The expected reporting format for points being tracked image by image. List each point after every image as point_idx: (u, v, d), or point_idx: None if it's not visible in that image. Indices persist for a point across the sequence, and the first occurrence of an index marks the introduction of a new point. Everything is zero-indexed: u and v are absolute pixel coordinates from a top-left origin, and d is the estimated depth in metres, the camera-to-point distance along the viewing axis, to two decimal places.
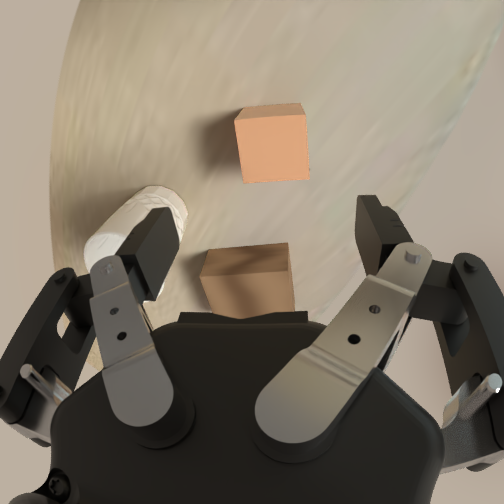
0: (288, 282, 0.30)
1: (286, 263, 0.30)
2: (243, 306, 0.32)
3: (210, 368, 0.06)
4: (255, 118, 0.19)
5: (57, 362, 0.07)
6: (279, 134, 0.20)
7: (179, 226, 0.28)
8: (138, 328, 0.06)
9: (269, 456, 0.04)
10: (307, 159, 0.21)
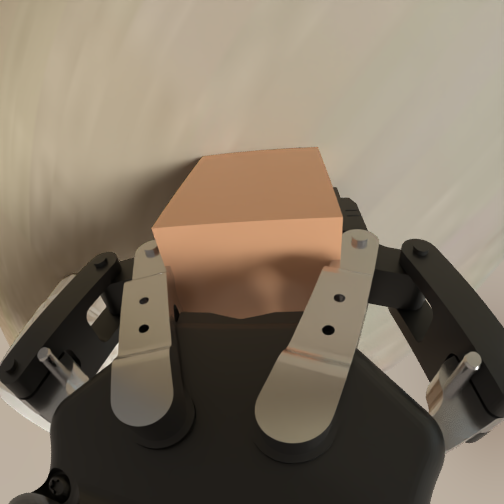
0: None
1: None
2: None
3: (210, 367, 0.06)
4: (204, 224, 0.08)
5: (81, 348, 0.08)
6: (270, 263, 0.08)
7: (115, 348, 0.17)
8: (161, 324, 0.06)
9: (281, 461, 0.04)
10: None
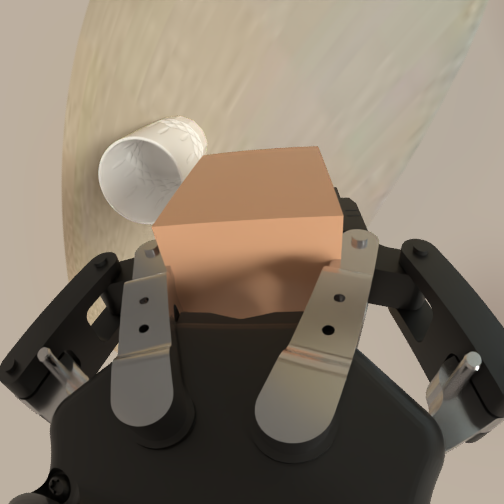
0: None
1: None
2: None
3: (210, 368, 0.06)
4: (204, 223, 0.08)
5: (81, 348, 0.08)
6: (270, 262, 0.08)
7: (199, 149, 0.27)
8: (161, 324, 0.06)
9: (281, 461, 0.04)
10: None
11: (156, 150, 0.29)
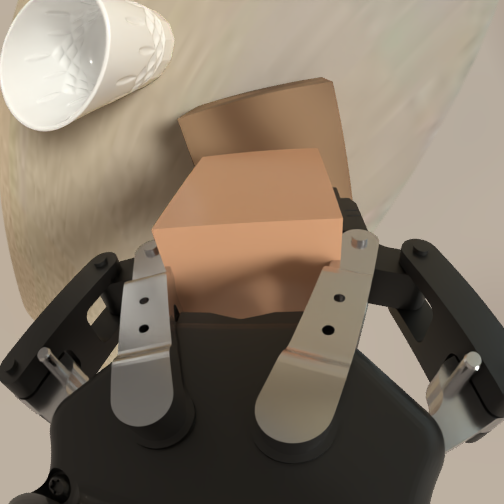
0: (336, 107, 0.14)
1: (326, 80, 0.15)
2: None
3: (210, 368, 0.06)
4: (204, 225, 0.08)
5: (81, 348, 0.08)
6: (270, 264, 0.08)
7: (158, 31, 0.13)
8: (161, 324, 0.06)
9: (281, 461, 0.04)
10: None
11: (101, 53, 0.15)
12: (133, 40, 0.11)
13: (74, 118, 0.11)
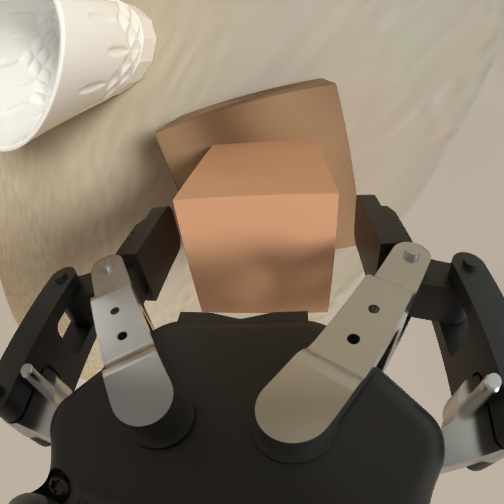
0: (340, 114, 0.12)
1: (328, 82, 0.12)
2: None
3: (210, 368, 0.06)
4: (220, 197, 0.09)
5: (58, 362, 0.07)
6: (275, 233, 0.09)
7: (134, 29, 0.11)
8: (139, 328, 0.06)
9: (270, 456, 0.04)
10: (329, 281, 0.10)
11: None
12: (98, 40, 0.08)
13: (31, 137, 0.08)
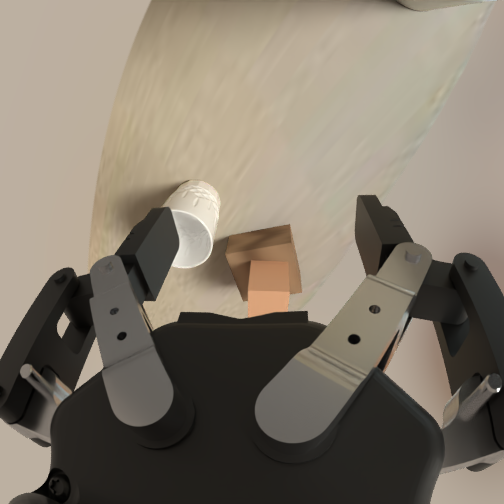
0: (292, 252, 0.39)
1: (289, 237, 0.39)
2: None
3: (210, 368, 0.06)
4: (260, 290, 0.36)
5: (57, 362, 0.07)
6: (273, 299, 0.36)
7: (217, 211, 0.38)
8: (138, 328, 0.06)
9: (269, 456, 0.04)
10: (286, 311, 0.37)
11: None
12: None
13: (194, 266, 0.35)
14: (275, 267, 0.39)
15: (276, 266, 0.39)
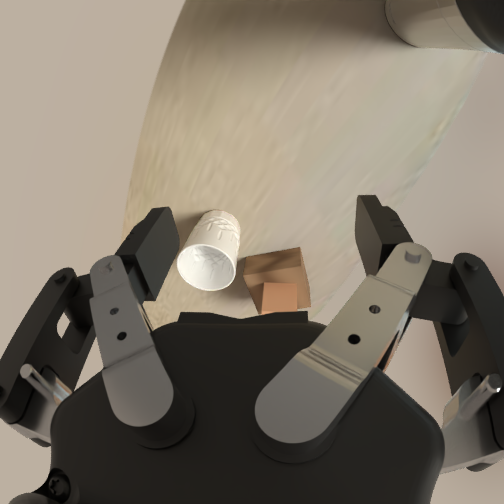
0: (302, 273, 0.44)
1: (299, 261, 0.44)
2: None
3: (210, 367, 0.06)
4: (272, 311, 0.41)
5: (57, 362, 0.07)
6: None
7: (238, 239, 0.43)
8: (138, 328, 0.06)
9: (269, 456, 0.04)
10: None
11: None
12: None
13: (219, 289, 0.41)
14: (285, 289, 0.45)
15: (286, 288, 0.45)
